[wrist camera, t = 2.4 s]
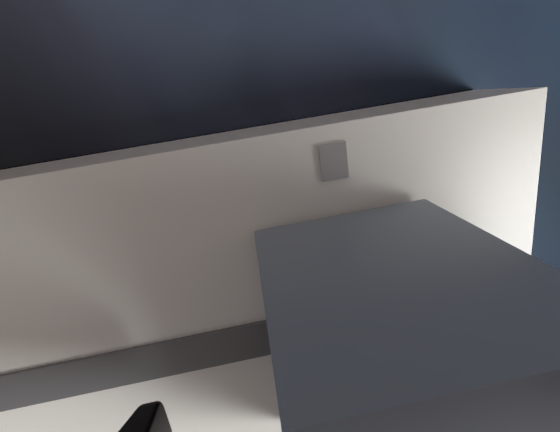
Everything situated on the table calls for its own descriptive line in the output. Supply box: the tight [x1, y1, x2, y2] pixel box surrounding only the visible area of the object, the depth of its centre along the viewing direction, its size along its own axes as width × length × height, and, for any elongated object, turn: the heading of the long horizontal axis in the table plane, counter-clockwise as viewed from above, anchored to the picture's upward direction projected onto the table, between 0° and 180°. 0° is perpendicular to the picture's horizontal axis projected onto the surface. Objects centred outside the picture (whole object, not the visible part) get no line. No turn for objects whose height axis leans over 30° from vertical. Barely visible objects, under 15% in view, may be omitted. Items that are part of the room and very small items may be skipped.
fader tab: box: [254, 199, 560, 432], centre depth 7 cm, size 6×4×5 cm, turn 9°
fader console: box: [0, 87, 547, 432], centre depth 10 cm, size 10×26×3 cm, turn 99°
